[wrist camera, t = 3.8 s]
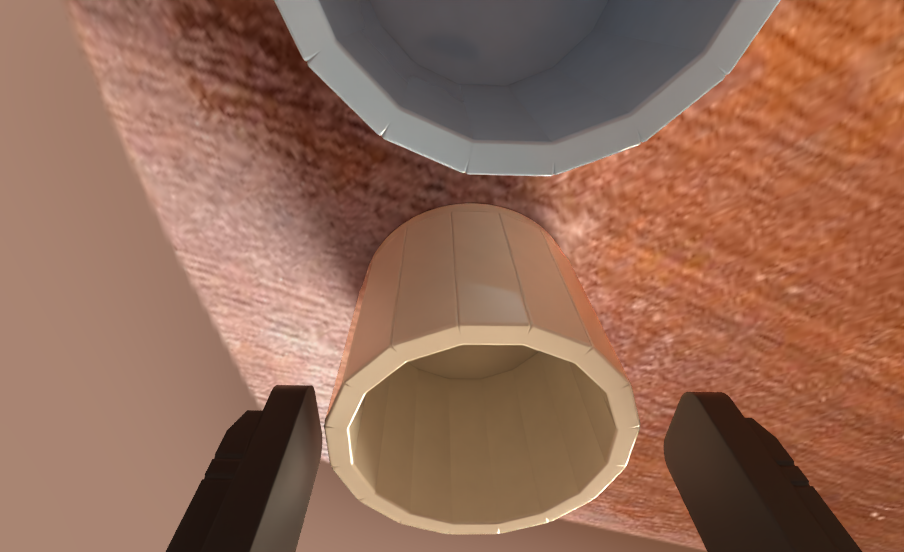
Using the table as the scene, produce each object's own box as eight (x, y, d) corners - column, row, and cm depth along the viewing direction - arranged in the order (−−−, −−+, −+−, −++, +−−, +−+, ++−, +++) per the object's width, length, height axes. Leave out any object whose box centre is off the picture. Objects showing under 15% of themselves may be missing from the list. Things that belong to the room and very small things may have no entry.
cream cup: (369, 376, 16) (340, 536, 11) (355, 200, 12) (305, 321, 8) (554, 376, 16) (603, 534, 11) (588, 204, 13) (677, 325, 8)
